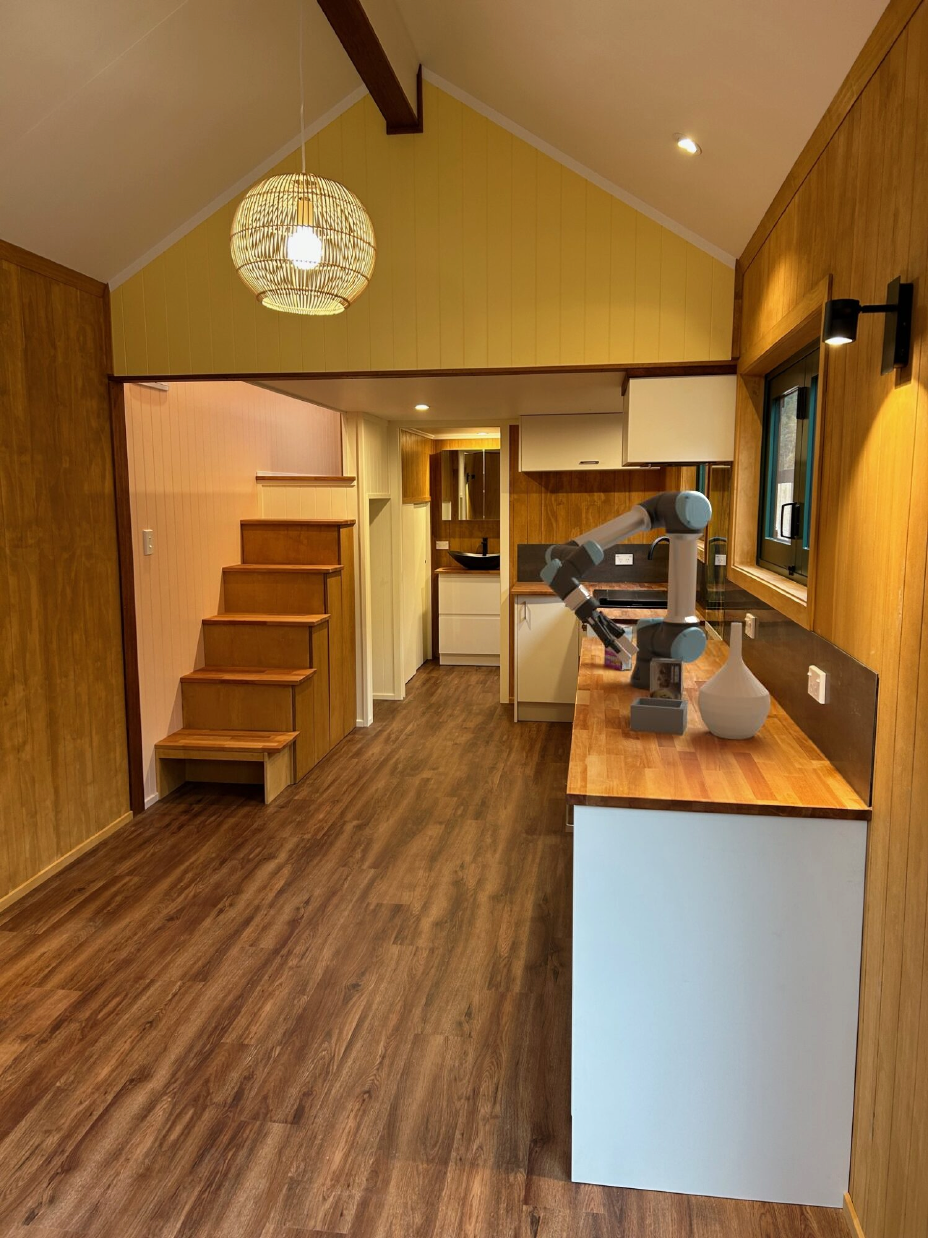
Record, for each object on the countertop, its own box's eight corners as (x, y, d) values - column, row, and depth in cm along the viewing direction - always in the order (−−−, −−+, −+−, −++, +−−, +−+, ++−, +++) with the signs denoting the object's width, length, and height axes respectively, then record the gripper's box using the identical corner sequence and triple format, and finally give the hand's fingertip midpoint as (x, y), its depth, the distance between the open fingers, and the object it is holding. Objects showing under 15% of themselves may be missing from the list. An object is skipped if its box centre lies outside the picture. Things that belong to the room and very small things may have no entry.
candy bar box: (632, 670, 316) (633, 626, 314) (621, 671, 314) (622, 627, 312) (614, 665, 326) (615, 622, 324) (603, 666, 324) (604, 623, 322)
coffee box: (682, 713, 250) (684, 659, 248) (680, 718, 244) (682, 662, 242) (651, 711, 253) (652, 657, 251) (648, 716, 247) (649, 661, 245)
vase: (745, 724, 238) (749, 617, 234) (783, 742, 220) (788, 627, 216) (684, 728, 234) (687, 619, 230) (717, 746, 216) (722, 629, 212)
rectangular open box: (636, 721, 241) (636, 696, 240) (686, 725, 237) (687, 700, 236) (630, 730, 231) (630, 705, 230) (682, 735, 226) (683, 709, 226)
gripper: (582, 607, 266) (629, 658, 263) (563, 617, 243) (615, 672, 239) (599, 591, 263) (647, 642, 260) (582, 599, 240) (634, 655, 237)
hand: (632, 657), depth 250 cm, fingers open, 13 cm apart
